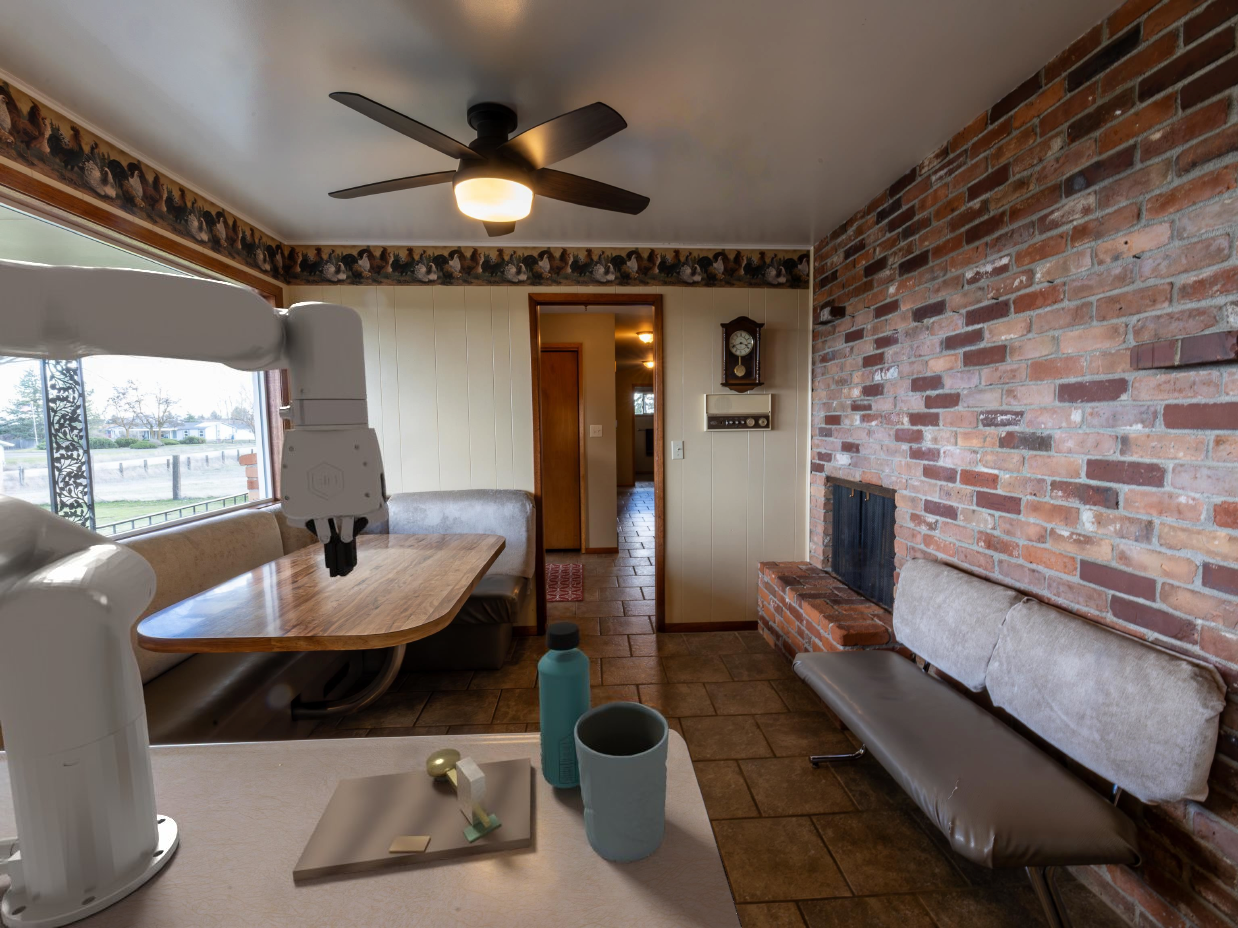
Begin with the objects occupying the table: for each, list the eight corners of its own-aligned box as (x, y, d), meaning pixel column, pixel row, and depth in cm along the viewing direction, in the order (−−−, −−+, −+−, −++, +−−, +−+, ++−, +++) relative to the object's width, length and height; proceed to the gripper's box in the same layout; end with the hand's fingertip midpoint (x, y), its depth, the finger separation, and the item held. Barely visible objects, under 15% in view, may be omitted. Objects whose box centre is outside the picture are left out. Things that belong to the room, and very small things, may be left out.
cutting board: (293, 880, 52) (291, 861, 51) (340, 787, 64) (339, 772, 64) (530, 846, 55) (529, 828, 55) (530, 764, 68) (530, 750, 68)
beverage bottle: (586, 804, 61) (582, 640, 59) (532, 797, 62) (527, 635, 60) (599, 767, 67) (596, 617, 65) (550, 761, 69) (546, 614, 67)
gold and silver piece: (422, 771, 65) (420, 732, 64) (453, 757, 67) (451, 720, 67) (470, 844, 54) (468, 798, 53) (505, 824, 56) (503, 780, 56)
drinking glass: (675, 866, 52) (675, 754, 51) (574, 872, 52) (572, 759, 51) (662, 793, 63) (661, 698, 61) (577, 797, 62) (575, 701, 61)
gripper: (241, 418, 55) (255, 588, 57) (392, 415, 57) (401, 579, 59) (275, 417, 62) (287, 568, 64) (408, 415, 64) (416, 560, 66)
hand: (342, 573), depth 61 cm, fingers closed
